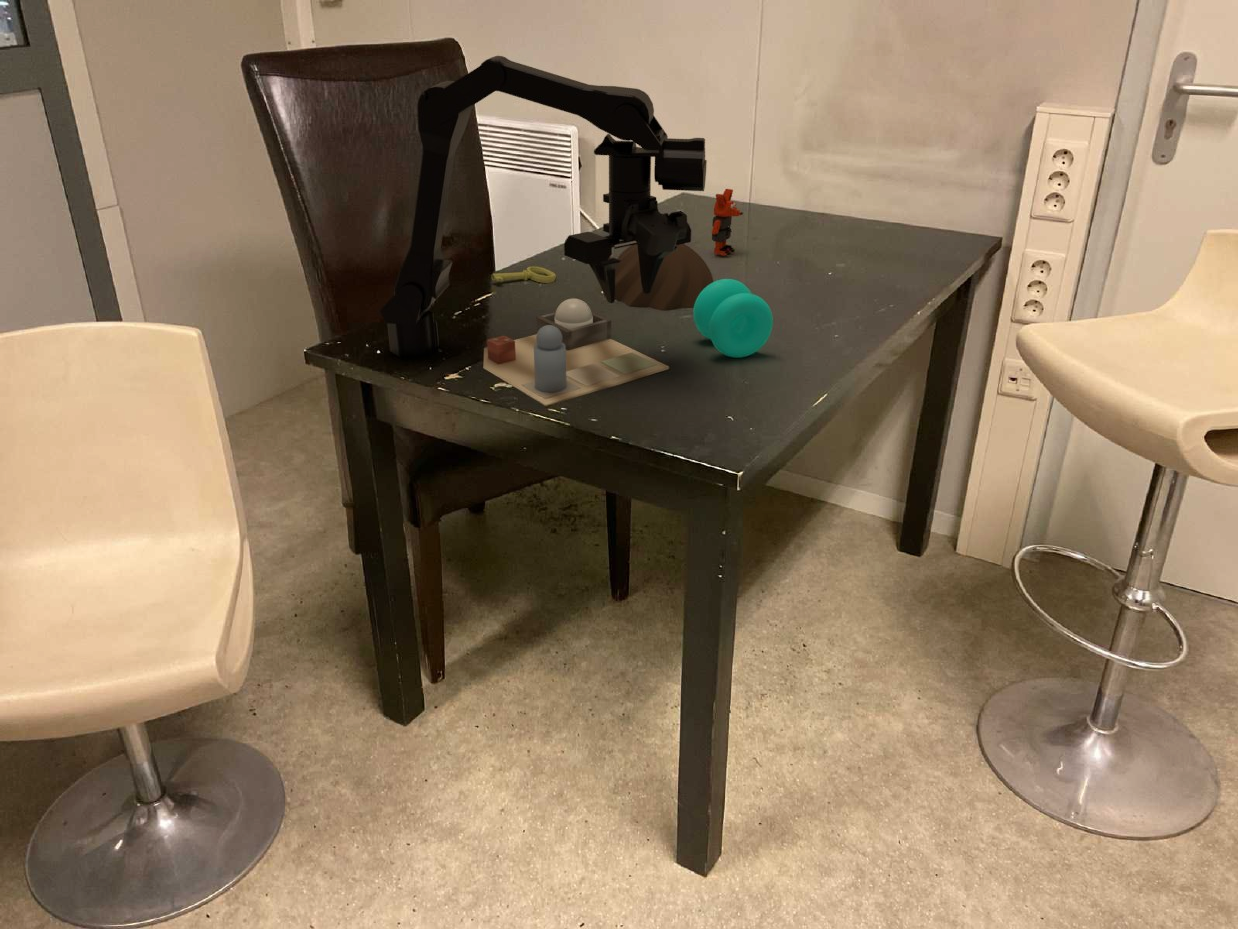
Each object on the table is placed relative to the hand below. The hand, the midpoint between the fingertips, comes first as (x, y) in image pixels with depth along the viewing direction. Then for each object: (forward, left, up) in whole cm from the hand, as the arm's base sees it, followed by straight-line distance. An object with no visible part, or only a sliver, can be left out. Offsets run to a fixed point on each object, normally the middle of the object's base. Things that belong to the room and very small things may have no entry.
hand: (628, 297), depth 144 cm
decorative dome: (+26, +24, -11) cm, 37 cm away
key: (+7, +40, -11) cm, 42 cm away
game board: (-7, +7, -11) cm, 14 cm away
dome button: (0, +14, -10) cm, 17 cm away
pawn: (-14, 0, -10) cm, 17 cm away
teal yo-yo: (+17, -4, -11) cm, 21 cm away
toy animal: (+52, +34, -11) cm, 63 cm away
